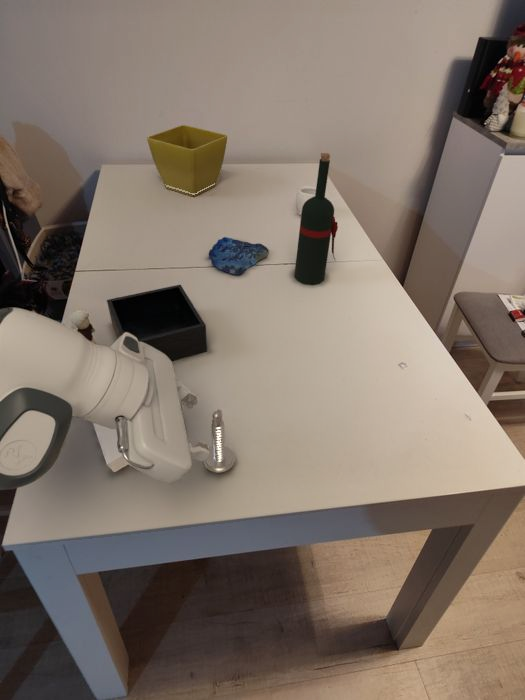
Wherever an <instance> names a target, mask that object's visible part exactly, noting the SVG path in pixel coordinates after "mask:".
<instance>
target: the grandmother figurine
mask: <svg viewBox="0 0 525 700" xmlns="http://www.w3.org/2000/svg"><path fill="white" fill-rule="evenodd" d="M89 317H90V314H89V312H88V311H87V310H81V309H80V310H79V309H78V310H75V311H74V312H72V313H71V315H70V317H69V321H70V323H71V324H72V326H73V327H75V328H76V329H77V330H76V331H78V332H80V333H81V334H82V335H83V336H84V337H85V338H86V339H88V340H89V341H91V342H93V343H95V344H97V342H96V341H95V339H94V336H93V333H95V331H96V329H95V328H94V325H92V323H91V321H90V319H89Z"/></svg>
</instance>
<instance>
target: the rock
mask: <svg viewBox="0 0 525 700" xmlns="http://www.w3.org/2000/svg"><path fill="white" fill-rule="evenodd" d="M269 252H270V250H269V248H268V247H267V246H265V245H263V244H262V243H260V242H259V243H250V242H248V241H243V240H239V239H233V238H231V237H228V236H227V237H226V236H224V237H222V238H221V239H218V240H217V242H216V243H214V244H213V245H212V248H211V249H210V250H209V252H208V258H209V259H210V261H211V265H212V266H213V267H216V268H217V269H219V270H220V271H224V272H226V273H229V274H232V275H234V276H241V275H243V274H244V273H245V272H246V271H247V269H249V268H251V267H253V265H255V264H257V262H259V261H261V260H262V259H265V258H267V256H268V254H269Z"/></svg>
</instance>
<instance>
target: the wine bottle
mask: <svg viewBox="0 0 525 700" xmlns="http://www.w3.org/2000/svg"><path fill="white" fill-rule="evenodd" d="M330 158H331V155H330V153H329V152H320V158H319V164H318V171H317V178H316V180H317V181H316V186H315V187H316V194H315V196H314V197H312V198H310V199H308V200H307V201H306V202H305V203H304V205H303V207H302V213H301V216H300V222H299V223H300V224H299V232H298V239H297V249H296V257H295V265H294V273H293V274H294V275H293V277H294V279H295V280H296V281H297V282H298V283H301V284H302V285H308V286H314V285H320V284H322V283H323V282H324V281H325V278H326V277H325V276H326V269H327V263H328V256H329V251H330V243H331V253H332V256H333V257H332V258H333V259H334V260H336V258H335V255H334V253H335V239H336V236H337V232H338V228H339V226H338V221H336V218H335V207H334V204H333V202H332V201H330V200H329V199H328V198H327V197H326V192H327V191H326V190H327V185H328V176H329V170H330V163H331V162H330Z"/></svg>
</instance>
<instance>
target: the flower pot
mask: <svg viewBox="0 0 525 700" xmlns="http://www.w3.org/2000/svg"><path fill="white" fill-rule="evenodd" d="M146 140H147V144H148V148H149V151H150V154H151V157H152V160H153V162H154V165H155V167H156V170H157V172H158V174H159V177H160V178H161V181H162V183H163V185H164V184H166V185H169V186H172V187H175V188H179V189H182V190H185V191H188V192H190V193H197V192H198V191H200V190H202V189H204V188H206V187H208V186H210V185H212V184H214V183H216V182H217V183H218V181H219V177H220V173H221V171H222V168H223V163H224V158H225V154H226V148H227V143H228V135H227V134H224V133H220V132H216V131H212V130H207V129H204V128H198V127H195V126H190V125H186V124H182V125H178V126H176V127H173V128H170V129H166V130H163V131H161V132H158V133H155V134H152V135H149V136H147V137H146ZM217 183H216V184H215V185H213V186H211V187H209V188H207V189H205V190H203V191H201V192H199V193H198V194H195V195H192V194H189V193H185V192H182V191H179V190H176V189H172V188H169V187H166V186H165V185H164V187H165V188H166V189H167V190H170V191H174V192H177V193H180V194H183V195H186V196H190V197H193V198H194V197H198V196H199V195H201V194H203V193H204V192H207V191H208V190H210V189H213V188H214V187H216V185H217Z"/></svg>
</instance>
